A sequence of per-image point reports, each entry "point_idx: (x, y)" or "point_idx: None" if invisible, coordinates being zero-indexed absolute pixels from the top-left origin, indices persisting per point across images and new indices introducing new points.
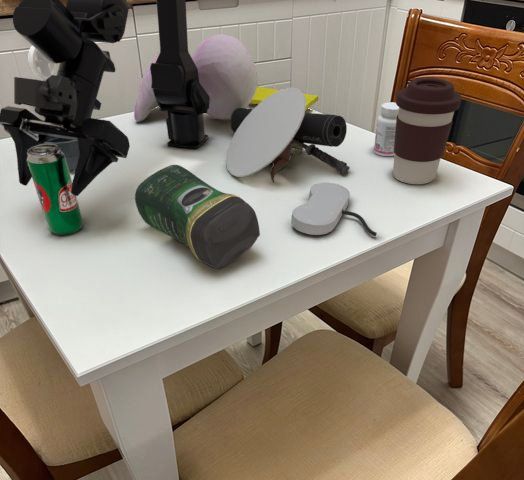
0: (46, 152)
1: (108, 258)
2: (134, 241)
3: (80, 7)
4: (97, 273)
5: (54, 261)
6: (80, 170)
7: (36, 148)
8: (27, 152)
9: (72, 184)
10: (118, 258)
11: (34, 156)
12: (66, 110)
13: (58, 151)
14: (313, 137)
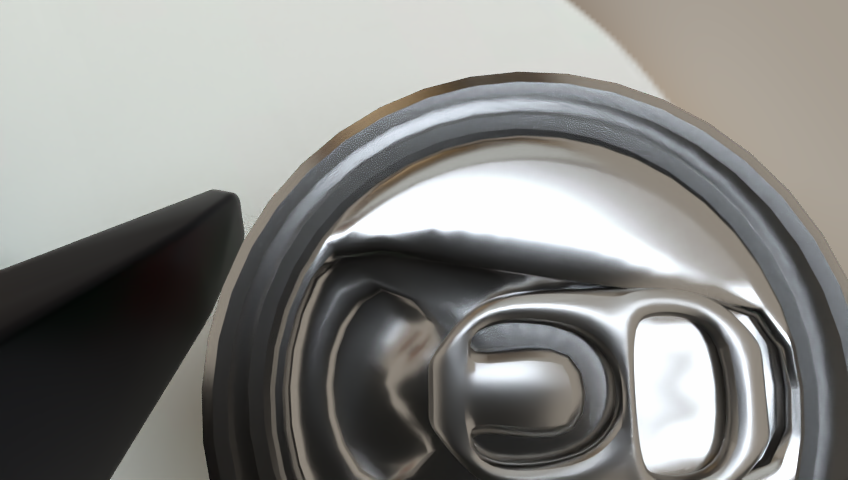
0: (426, 317)
1: (157, 117)
2: None
3: None
4: (161, 7)
5: (379, 49)
6: (12, 272)
7: (724, 431)
8: (771, 179)
9: (197, 220)
10: (114, 125)
11: (539, 81)
12: None
13: (213, 407)
14: None
